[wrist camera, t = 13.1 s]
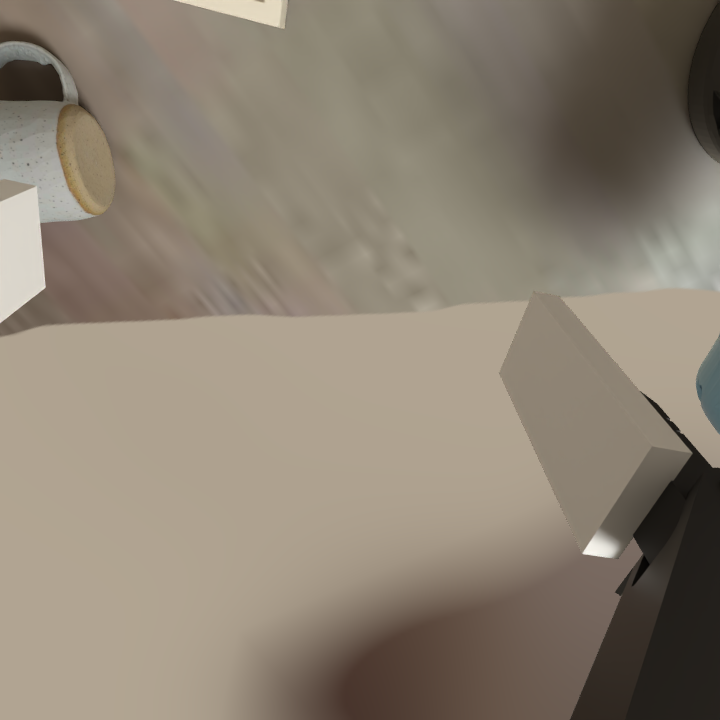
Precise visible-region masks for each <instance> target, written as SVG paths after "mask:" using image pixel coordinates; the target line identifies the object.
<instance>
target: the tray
mask: <svg viewBox="0 0 720 720" xmlns="http://www.w3.org/2000/svg"><path fill="white" fill-rule="evenodd" d="M174 1H178V2H182V3H186V4H190V5H193V6H197V7H201V8H205V9H209V10H213V11H217V12H220V13H224V14H228V15H232V16H236V17H240V18H244V19H247V20H251V21H255V22H259V23H263V24H267V25H270V26H274V27H278V28H282V29H285V22H286V14H287V6H288V0H174Z"/></svg>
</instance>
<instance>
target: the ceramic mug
mask: <svg viewBox="0 0 720 720" xmlns="http://www.w3.org/2000/svg"><path fill="white" fill-rule="evenodd" d="M13 60H26V61H36V62H39V63H40V64H42V65H47V64H52V65H53V66H54V68H55V69H56V71H57V73H58V74H59V77H60V81H61V84H62V87H63V95H64V99H63V101H62V102H59V101H1V100H0V180H3V179H6V180H11V181H16V182H20V183H25V184H30V185H35V186H37V194H38V206H39V217H40V223H44V222H54V221H73V220H81V219H86V218H90V217H94V216H98V215H100V214H103V213H104V212H105V211H106V210H107V209H108V207H109V206H110V204H111V203H112V200H113V197H114V191H115V172H114V165H113V159H112V155H111V152H110V148H109V145H108V142H107V140H106V137H105V134H104V133H103V131H102V129H101V127H100V125H99V124H98V122H97V121H96V120H95V118H94V117H93V116H92V115H91V114H90V113H88V112H87V111H86V110H85V109H83V108H82V107H80V106H78V93H77V89H76V86H75V84H74V81H73V78H72V76H71V74H70V73H69V71H68V69H67V68H66V67H65V66H64V65H63V63H62V62H61V61H59V60H58V59H57V58H56V57H55V56H54V55H52V54H51V53H50V52H48V51H47V50H45V49H44V48H42V47H40V46H38V45H35V44H33V43H29V42H22V41H8V42H2V43H0V69H1V68H2V67H3V66H4V65H5V64H6V63H7V62H11V61H13Z"/></svg>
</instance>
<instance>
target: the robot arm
mask: <svg viewBox="0 0 720 720" xmlns="http://www.w3.org/2000/svg"><path fill="white" fill-rule="evenodd" d="M688 105H689V113H690V118H691V122H692V126H693V129H694V132H695V134H696V136H697V138H698V140H699V142H700V144H701V145H702V147H703V148H704V149H705V151H706V152H707V153H708V154H709V155H710V156H711V157H712V158H713V159H714V160H716V161H717V162H718V163H720V2H719V3H718V5H717V6H716V8H715V10H714V11H713V13H712V15H711V17H710V19H709V21H708V23H707V24H706V26H705V29H704V31H703V33H702V35H701V38H700V40H699V43H698V46H697V49H696V52H695V55H694V58H693V63H692V67H691V72H690V78H689V87H688ZM44 288H45V276H44V265H43V253H42V241H41V229H40V217H39V206H38V194H37V186H35V185H30V184H25V183H20V182H16V181H11V180H6V179H3V180H0V323H1V322H2V321H3V320H5V319H6V318H7V317H8V316H10V315H11V314H12V313H14V312H15V311H16V310H17V309H19V308H20V307H21V306H23V305H24V304H25V303H26V302H28V301H29V300H30V299H32V298H33V297H34V296H35V295H37V294H38V293H39V292H40V291H42V290H43V289H44ZM499 374H500V376H501V378H502V380H503V383H504V385H505V387H506V389H507V391H508V394H509V396H510V398H511V400H512V402H513V404H514V407H515V409H516V411H517V413H518V415H519V417H520V420H521V422H522V424H523V426H524V428H525V431H526V433H527V435H528V437H529V439H530V441H531V443H532V446H533V448H534V450H535V452H536V454H537V456H538V459H539V461H540V463H541V465H542V467H543V470H544V472H545V474H546V476H547V478H548V481H549V483H550V485H551V487H552V489H553V491H554V494H555V495H556V498H557V500H558V502H559V504H560V507H561V508H562V511H563V513H564V515H565V517H566V520H567V522H568V524H569V526H570V528H571V531H572V533H573V535H574V537H575V539H576V541H577V544H578V546H579V548H580V550H581V552H582V554H587V555H594V556H601V557H608V558H615V559H618V558H619V557H620V555H621V554H622V553H623V551H624V550H625V548H626V547H627V546H628V544H629V543H630V541H631V540H632V539H633V537H634V538H635V540H636V542H637V544H638V545H639V547H640V549H641V550H642V552H643V555H642V556H641V558H640V559H639V560H638V562H637V563H636V564H635V566H634V567H633V568H632V570H631V571H630V573H629V574H628V575H627V577H626V578H625V579H624V581H623V582H622V583H621V585H620V586H619V587H618V589H617V590H616V593H617V594H619V595H620V596H621V595H622V596H621V599H620V601H619V603H618V606H617V608H616V610H615V613H614V615H613V618H612V620H611V623H610V625H609V627H608V630H607V632H606V634H605V637H604V639H603V642H602V644H601V646H600V649H599V651H598V654H597V656H596V659H595V661H594V663H593V666H592V668H591V671H590V673H589V675H588V678H587V680H586V683H585V685H584V687H583V690H582V692H581V695H580V697H579V700H578V702H577V704H576V707H575V709H574V711H573V714H572V716H571V719H570V720H720V468H712V467H711V465H710V464H709V463H708V462H707V461H706V460H705V458H704V457H703V456H702V455H701V454H700V453H699V452H698V450H697V449H696V448H695V447H694V446H693V445H692V444H691V442H690V441H689V440H688V439H687V438H686V437H685V435H684V434H681V433H680V430H679V428H678V427H677V426H676V425H675V424H674V423H673V422H672V421H670V418H669V417H668V416H667V415H666V413H664V411H663V410H662V409H661V408H660V407H659V405H658V404H657V403H655V402H654V401H653V400H651V399H650V398H649V397H647V396H646V395H645V394H643V393H642V392H641V391H639V390H638V388H637V387H636V386H635V385H634V384H633V382H631V380H630V379H629V378H628V377H627V375H626V374H625V373H624V372H623V371H622V370H621V368H620V367H619V366H618V365H617V364H616V362H615V361H614V360H613V359H612V358H611V357H610V355H609V354H608V353H607V352H606V351H605V349H604V348H603V347H602V346H601V345H600V344H599V342H598V341H597V340H596V339H595V338H594V337H593V335H592V334H591V333H590V332H589V331H588V329H587V328H586V327H585V326H584V325H583V324H582V322H581V321H580V320H579V319H578V318H577V316H576V315H575V314H574V313H573V312H572V311H571V309H570V308H569V307H568V306H567V305H566V304H565V302H564V301H563V300H562V299H561V298H560V296H556V295H551V294H546V293H542V292H537V291H534V292H533V294H532V296H531V299H530V301H529V304H528V306H527V308H526V311H525V313H524V315H523V318H522V320H521V322H520V325H519V327H518V330H517V332H516V334H515V337H514V339H513V341H512V344H511V346H510V349H509V351H508V353H507V356H506V358H505V360H504V363H503V365H502V367H501V370H500V372H499ZM696 388H697V393H698V397H699V400H700V401H701V406H702V409H703V411H704V413H705V415H706V416H707V418H708V420H709V421H710V422H711V424H712V425H713V427H714V428H715V429H716V431H717V432H718V433H719V434H720V335H719V337H718V339H717V340H716V342H715V344H714V345H713V348H712V349H711V350H710V352H709V353H708V355H707V357H706V358H705V360H704V361H703V363H702V364H701V366H700V368H699V371H698V374H697V378H696Z"/></svg>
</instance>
